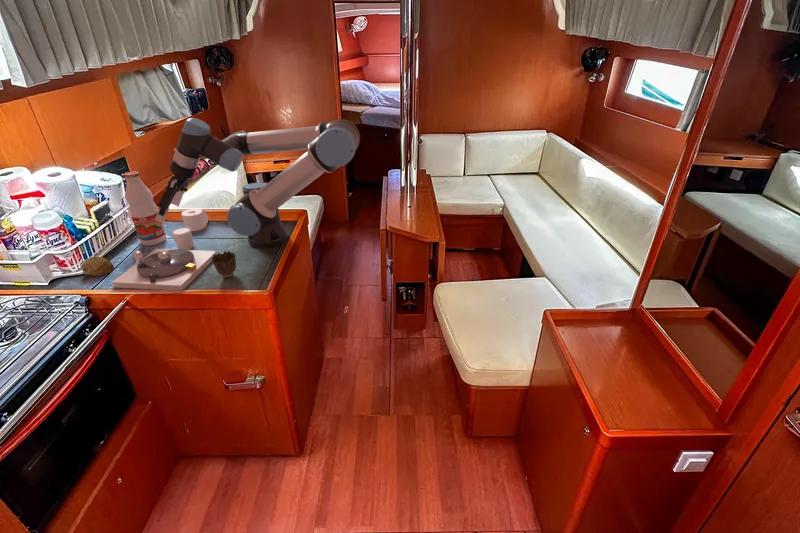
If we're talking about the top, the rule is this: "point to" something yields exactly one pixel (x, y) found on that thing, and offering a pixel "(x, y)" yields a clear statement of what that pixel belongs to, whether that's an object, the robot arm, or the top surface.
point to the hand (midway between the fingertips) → (167, 212)
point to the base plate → (167, 283)
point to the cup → (225, 263)
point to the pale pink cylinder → (183, 238)
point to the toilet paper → (195, 219)
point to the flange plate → (164, 263)
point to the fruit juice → (143, 210)
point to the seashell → (97, 266)
